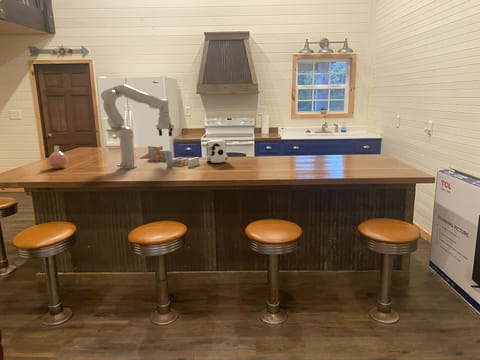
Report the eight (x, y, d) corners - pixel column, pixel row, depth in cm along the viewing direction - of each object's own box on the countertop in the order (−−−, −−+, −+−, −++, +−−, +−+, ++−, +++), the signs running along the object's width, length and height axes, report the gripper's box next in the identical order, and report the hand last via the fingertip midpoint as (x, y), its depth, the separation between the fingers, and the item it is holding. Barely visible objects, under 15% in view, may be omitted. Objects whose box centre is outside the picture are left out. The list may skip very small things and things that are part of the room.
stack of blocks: (170, 160, 304) (169, 146, 301) (164, 161, 299) (164, 147, 296) (154, 158, 316) (153, 145, 314) (148, 159, 312) (147, 145, 309)
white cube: (228, 161, 297) (228, 139, 293) (225, 164, 281) (225, 142, 277) (208, 161, 299) (207, 139, 295) (204, 164, 282) (203, 142, 278)
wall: (189, 167, 269) (189, 159, 268) (187, 167, 270) (187, 159, 269) (199, 164, 281) (199, 157, 279) (197, 164, 281) (196, 157, 280)
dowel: (170, 168, 271) (169, 152, 268) (166, 167, 273) (165, 152, 270) (173, 167, 274) (172, 151, 272) (169, 166, 276) (168, 151, 274)
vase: (60, 170, 269) (57, 147, 265) (45, 169, 271) (42, 146, 267) (72, 166, 282) (70, 144, 278) (57, 166, 284) (54, 144, 280)
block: (180, 165, 275) (180, 160, 274) (170, 165, 279) (170, 159, 278) (188, 163, 283) (188, 158, 282) (178, 163, 288) (177, 157, 287)
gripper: (152, 114, 287) (154, 136, 291) (170, 115, 280) (171, 136, 284) (158, 114, 294) (159, 135, 298) (175, 114, 287) (176, 135, 291)
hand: (165, 135), depth 291 cm, fingers open, 9 cm apart
